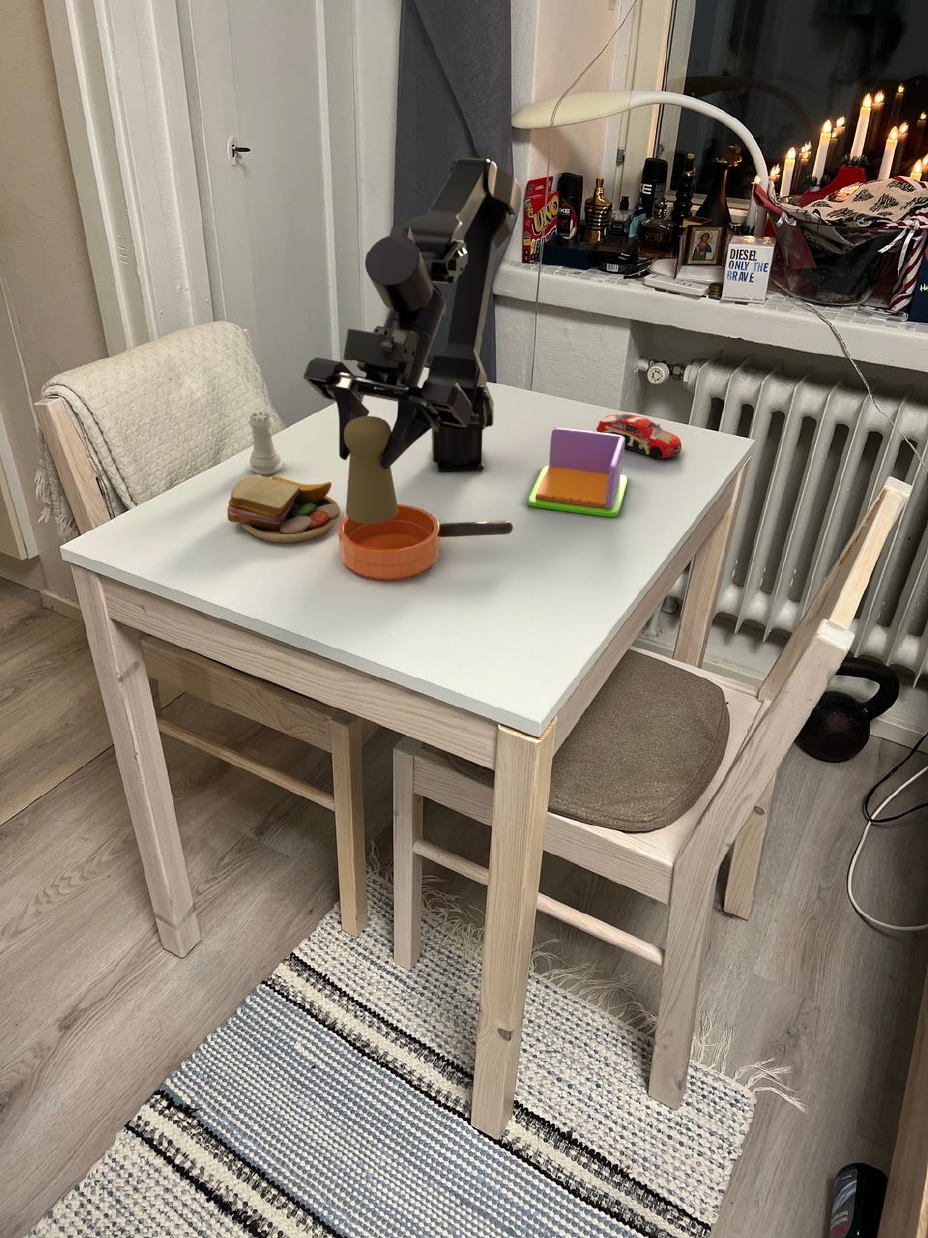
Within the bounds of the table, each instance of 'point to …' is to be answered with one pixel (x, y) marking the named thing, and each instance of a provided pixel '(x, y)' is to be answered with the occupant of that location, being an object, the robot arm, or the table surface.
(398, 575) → the pan
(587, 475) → the toy room diorama
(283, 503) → the toy sandwich meal
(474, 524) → the pan handle
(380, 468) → the cork
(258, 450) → the rook chess piece
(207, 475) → the table surface
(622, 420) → the race car
